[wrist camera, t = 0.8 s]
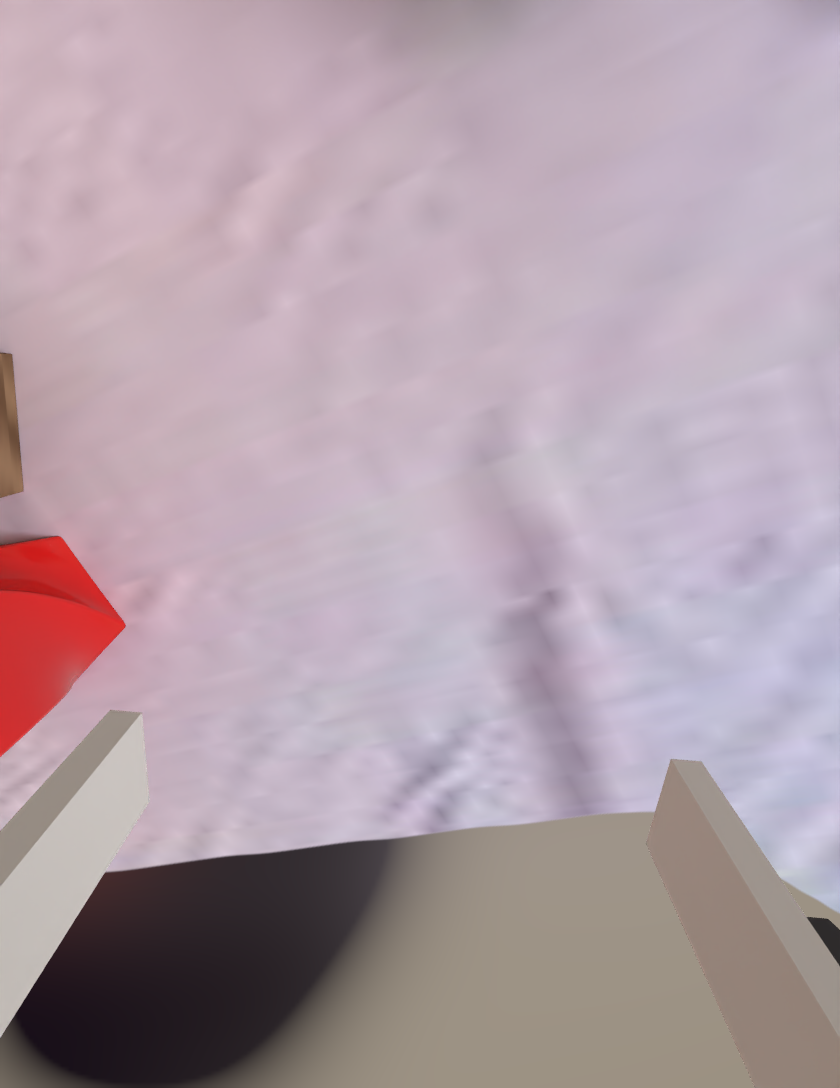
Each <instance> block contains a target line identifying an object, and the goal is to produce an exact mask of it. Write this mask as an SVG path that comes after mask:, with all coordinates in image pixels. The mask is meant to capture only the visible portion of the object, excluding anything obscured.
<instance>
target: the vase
mask: <svg viewBox="0 0 840 1088" xmlns="http://www.w3.org/2000/svg"><path fill="white" fill-rule="evenodd" d="M124 628H125V623H124V621H123V620H122V619H121V618H120V616H119V615H118V614H117V612H116V611H115V610H114V608H113V607H112V606H111V604H110V603H109V602H108V600H107V599H106V598H105V596H104V595H103V594H102V592H101V591H100V590H99V588H98V587H97V585H96V584H95V583H94V581H93V580H92V579H91V577H90V576H89V575H88V573H87V572H86V570H85V569H84V568H83V566H82V565H81V564H80V562H79V561H78V559H77V558H76V557H75V555H74V554H73V553H72V551H71V550H70V548H69V547H68V546H67V544H66V543H65V541H64V540H63V539H62V538H61V537H59V536H54V537H49V538H43V539H37V540H31V541H25V542H19V543H12V544H6V545H0V757H1V756H2V755H3V754H4V753H5V752H6V751H8V750H9V749H10V748H11V747H12V746H13V745H14V744H15V743H16V742H17V741H19V740H20V739H21V738H22V737H23V736H24V735H25V734H26V733H27V732H28V731H29V730H31V729H32V728H33V727H34V726H35V725H36V724H37V723H38V722H39V721H40V720H41V719H42V718H43V717H44V716H46V715H47V714H48V713H49V712H50V711H51V710H52V709H53V708H54V707H55V706H56V705H57V704H58V703H59V702H60V701H61V700H62V699H63V698H64V697H65V696H66V694H67V693H68V692H69V691H70V689H71V688H72V685H73V683H74V682H75V681H76V680H77V679H78V678H79V677H80V676H81V674H82V673H83V672H84V671H85V670H86V669H87V668H88V667H89V666H90V664H91V663H92V662H93V661H94V660H95V659H96V658H97V657H98V656H99V655H100V654H101V653H102V651H103V650H104V649H105V648H106V647H107V646H108V645H109V644H110V643H111V642H112V641H113V640H114V639H115V638H116V637H117V636H118V634H119V633H120V632H121V631H122V630H123V629H124Z"/></svg>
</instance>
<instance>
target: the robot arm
mask: <svg viewBox="0 0 840 1088" xmlns="http://www.w3.org/2000/svg"><path fill="white" fill-rule="evenodd" d="M149 802H150V800H149V788H148V777H147V766H146V754H145V743H144V732H143V721H142V713H139V712H127V711H116V710H110V711H109V712H108V713H107V714H106V715H105V717H104V718H103V719H102V720H101V721H100V722H99V723H98V724H97V725H96V726H95V728H94V729H93V730H92V731H91V732H90V733H89V734H88V735H87V736H86V737H85V739H84V740H83V741H82V742H81V743H80V744H79V745H78V746H77V747H76V748H75V750H74V751H73V752H72V753H71V754H70V755H69V756H68V757H67V758H66V759H65V761H64V762H63V763H62V764H61V765H60V766H59V767H58V768H57V769H56V770H55V772H54V773H53V774H52V775H51V776H50V777H49V778H48V779H47V780H46V781H45V783H44V784H43V785H42V786H41V787H40V788H39V789H38V790H37V791H36V792H35V794H34V795H33V796H32V797H31V798H30V799H29V800H28V801H27V802H26V803H25V805H24V806H23V807H22V808H21V809H20V810H19V811H18V812H17V813H16V814H15V816H14V817H13V818H12V819H11V820H10V821H9V822H8V823H7V824H6V825H5V827H4V828H3V829H2V830H1V831H0V1037H1V1035H2V1034H3V1032H4V1031H5V1029H6V1027H7V1026H8V1024H9V1023H10V1021H11V1020H12V1018H13V1016H14V1015H15V1013H16V1012H17V1010H18V1009H19V1007H20V1005H21V1004H22V1002H23V1001H24V999H25V997H26V996H27V994H28V993H29V991H30V990H31V988H32V986H33V985H34V983H35V982H36V980H37V979H38V977H39V975H40V974H41V972H42V970H43V969H44V967H45V966H46V964H47V963H48V961H49V960H50V958H51V956H52V955H53V953H54V952H55V950H56V948H57V947H58V945H59V944H60V942H61V941H62V939H63V937H64V936H65V934H66V933H67V931H68V930H69V928H70V926H71V925H72V923H73V922H74V920H75V918H76V917H77V915H78V914H79V912H80V911H81V909H82V907H83V906H84V904H85V903H86V901H87V900H88V898H89V896H90V895H91V893H92V892H93V890H94V888H95V887H96V885H97V883H98V882H99V881H100V879H101V877H102V876H103V874H104V873H105V871H106V870H107V868H108V866H109V865H110V863H111V862H112V860H113V858H114V857H115V855H116V854H117V852H118V851H119V849H120V847H121V846H122V844H123V843H124V841H125V840H126V838H127V836H128V835H129V833H130V832H131V830H132V828H133V827H134V825H135V824H136V822H137V821H138V819H139V817H140V816H141V814H142V813H143V811H144V809H145V808H146V806H147V805H148V803H149ZM646 845H647V847H648V849H649V852H650V854H651V856H652V859H653V861H654V863H655V865H656V867H657V869H658V872H659V874H660V876H661V878H662V881H663V883H664V885H665V888H666V890H667V892H668V894H669V897H670V899H671V901H672V903H673V905H674V908H675V910H676V912H677V914H678V917H679V919H680V921H681V923H682V926H683V928H684V930H685V932H686V935H687V937H688V939H689V941H690V943H691V946H692V948H693V950H694V952H695V955H696V957H697V959H698V961H699V963H700V966H701V968H702V970H703V973H704V975H705V977H706V979H707V982H708V984H709V986H710V988H711V990H712V992H713V995H714V997H715V999H716V1001H717V1004H718V1006H719V1008H720V1011H721V1013H722V1015H723V1017H724V1020H725V1022H726V1024H727V1026H728V1028H729V1031H730V1033H731V1035H732V1037H733V1039H734V1042H735V1044H736V1046H737V1049H738V1051H739V1053H740V1055H741V1058H742V1060H743V1062H744V1064H745V1066H746V1069H747V1071H748V1073H749V1075H750V1078H751V1080H752V1082H753V1084H754V1087H755V1088H840V930H839V929H838V928H837V927H836V926H835V925H834V924H833V923H832V922H831V921H830V920H828V919H824V918H823V919H822V918H812V917H806V916H805V914H804V913H803V911H802V910H801V908H800V907H799V905H798V904H797V902H796V901H795V899H794V898H793V896H792V895H791V894H790V892H789V891H788V889H787V888H786V886H785V885H784V883H783V882H782V880H781V879H780V877H779V876H778V874H777V873H776V871H775V870H774V868H773V867H772V865H771V864H770V862H769V861H768V859H767V858H766V857H765V855H764V854H763V852H762V851H761V849H760V848H759V846H758V845H757V843H756V842H755V840H754V839H753V837H752V836H751V834H750V833H749V831H748V830H747V828H746V827H745V825H744V824H743V823H742V821H741V820H740V818H739V817H738V815H737V814H736V812H735V811H734V809H733V808H732V806H731V805H730V803H729V802H728V800H727V799H726V797H725V796H724V794H723V793H722V791H721V790H720V788H719V787H718V786H717V784H716V783H715V781H714V780H713V778H712V777H711V775H710V774H709V772H708V771H707V769H706V768H705V766H704V765H703V763H702V762H700V761H688V760H677V759H671V760H670V764H669V767H668V770H667V774H666V777H665V781H664V784H663V787H662V791H661V794H660V797H659V801H658V804H657V807H656V811H655V814H654V818H653V821H652V825H651V828H650V831H649V834H648V838H647V841H646Z"/></svg>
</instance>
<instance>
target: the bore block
mask: <svg viewBox="0 0 840 1088" xmlns="http://www.w3.org/2000/svg"><path fill="white" fill-rule="evenodd" d="M22 491H23V479H22V467H21V455H20V443H19V432H18V420H17V408H16V396H15V384H14V372H13V361H12V354H7V353H0V498H2V497H5V496H8V495H12V494H15V493H19V492H22Z"/></svg>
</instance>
